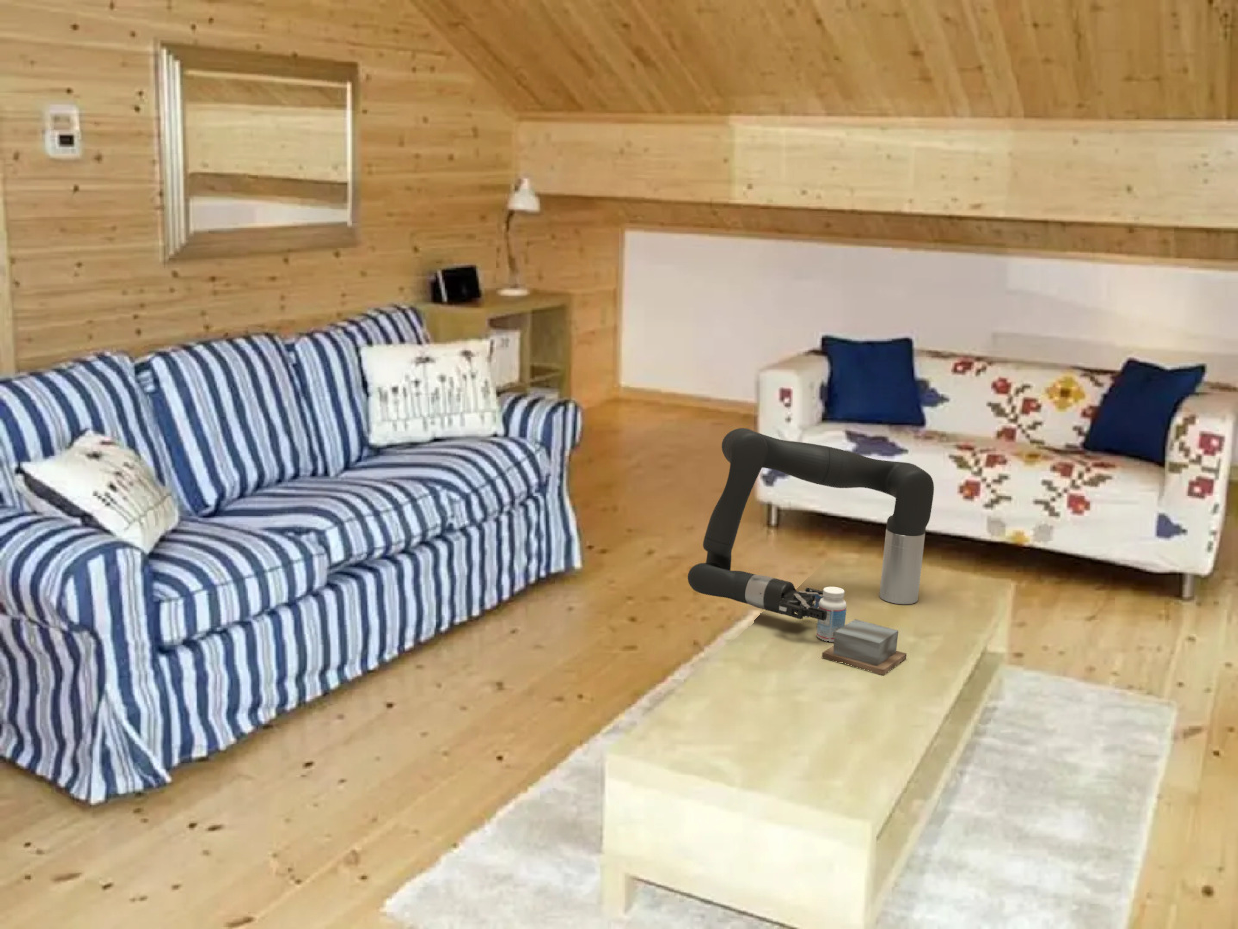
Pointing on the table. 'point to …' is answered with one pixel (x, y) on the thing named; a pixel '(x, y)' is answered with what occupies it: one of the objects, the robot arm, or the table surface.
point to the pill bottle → (831, 613)
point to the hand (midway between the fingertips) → (834, 610)
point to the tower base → (866, 647)
